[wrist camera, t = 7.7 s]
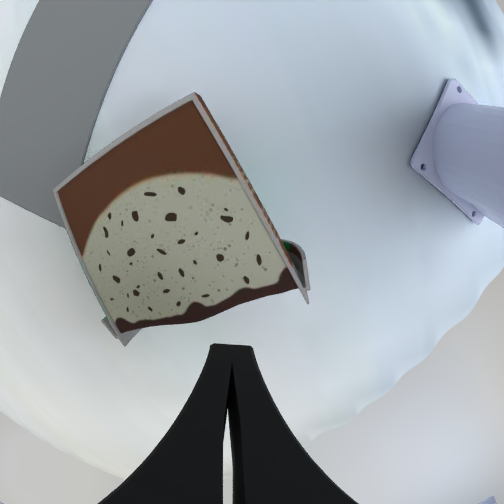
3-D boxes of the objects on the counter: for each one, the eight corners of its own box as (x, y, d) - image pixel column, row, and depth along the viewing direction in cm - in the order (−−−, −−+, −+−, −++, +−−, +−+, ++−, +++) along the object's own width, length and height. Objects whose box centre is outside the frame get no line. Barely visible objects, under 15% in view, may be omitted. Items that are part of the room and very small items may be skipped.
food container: (99, 181, 18) (158, 298, 21) (39, 201, 13) (118, 347, 16) (253, 97, 15) (315, 249, 18) (228, 75, 9) (320, 300, 12)
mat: (178, -37, 10) (177, -39, 10) (69, 227, 18) (67, 229, 18) (68, -42, 8) (66, -43, 8) (-13, 187, 16) (-15, 188, 15)
